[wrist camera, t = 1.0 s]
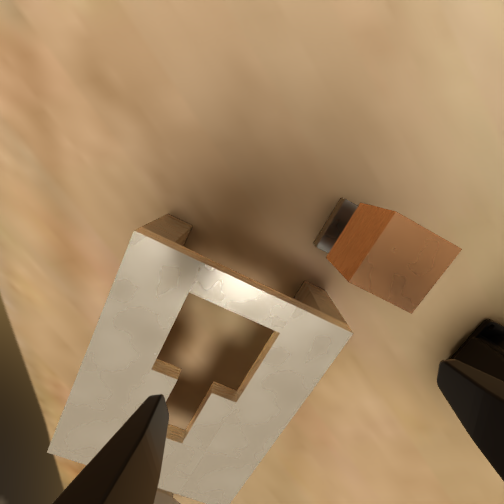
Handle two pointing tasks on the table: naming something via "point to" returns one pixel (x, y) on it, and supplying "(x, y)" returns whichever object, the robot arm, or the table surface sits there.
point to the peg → (385, 252)
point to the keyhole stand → (166, 375)
